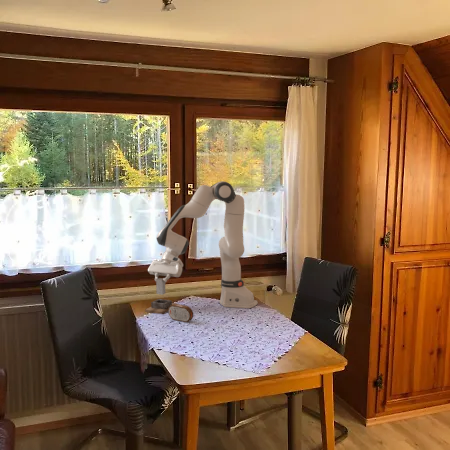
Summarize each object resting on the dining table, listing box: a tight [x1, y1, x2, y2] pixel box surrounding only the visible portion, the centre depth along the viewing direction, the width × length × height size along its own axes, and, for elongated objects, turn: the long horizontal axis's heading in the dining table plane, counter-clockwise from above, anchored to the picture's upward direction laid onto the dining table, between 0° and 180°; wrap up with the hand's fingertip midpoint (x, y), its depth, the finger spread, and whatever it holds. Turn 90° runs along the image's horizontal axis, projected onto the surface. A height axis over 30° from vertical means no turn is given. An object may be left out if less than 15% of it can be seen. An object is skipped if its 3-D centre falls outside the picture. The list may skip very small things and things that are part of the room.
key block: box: [155, 277, 166, 296], centre depth 277 cm, size 4×3×8 cm
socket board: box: [144, 298, 177, 315], centre depth 278 cm, size 11×17×4 cm, turn 156°
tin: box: [167, 303, 194, 323], centre depth 257 cm, size 15×3×8 cm, turn 58°
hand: (160, 281), depth 276 cm, fingers closed on key block, 4 cm apart
